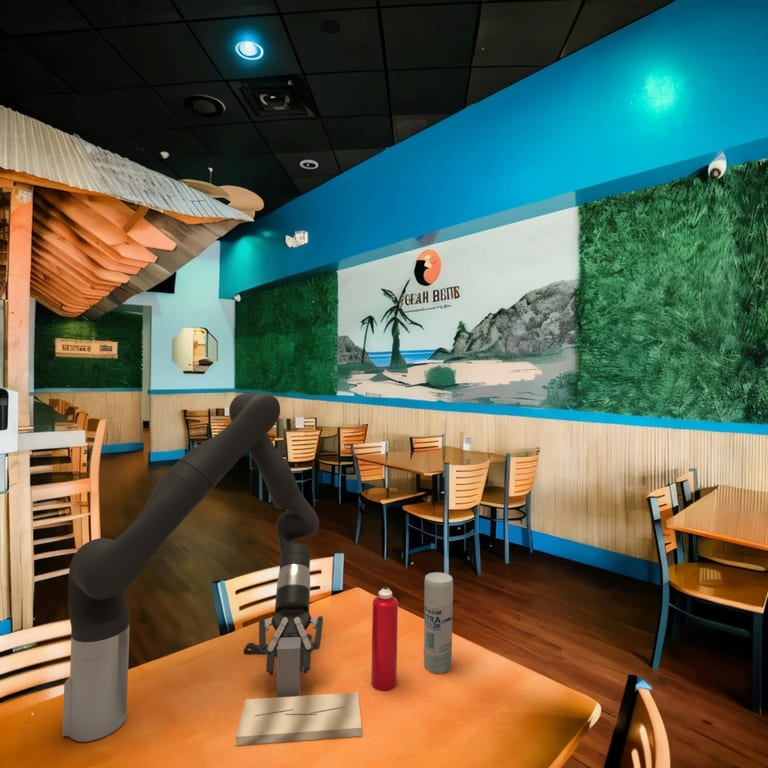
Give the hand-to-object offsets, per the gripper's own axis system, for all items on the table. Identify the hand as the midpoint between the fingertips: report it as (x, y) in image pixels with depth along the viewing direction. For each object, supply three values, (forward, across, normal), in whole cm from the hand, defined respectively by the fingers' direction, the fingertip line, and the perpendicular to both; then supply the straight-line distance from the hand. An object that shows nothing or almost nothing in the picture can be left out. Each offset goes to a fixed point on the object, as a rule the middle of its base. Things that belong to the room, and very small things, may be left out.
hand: (288, 672), depth 94 cm
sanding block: (+2, 0, +5) cm, 5 cm away
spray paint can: (-2, +33, +9) cm, 34 cm away
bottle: (+2, +20, +5) cm, 21 cm away
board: (+9, +3, -2) cm, 9 cm away
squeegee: (-8, -4, +16) cm, 18 cm away
